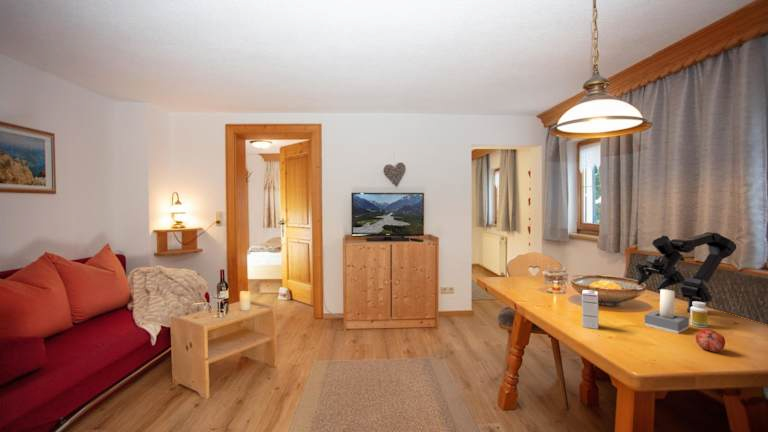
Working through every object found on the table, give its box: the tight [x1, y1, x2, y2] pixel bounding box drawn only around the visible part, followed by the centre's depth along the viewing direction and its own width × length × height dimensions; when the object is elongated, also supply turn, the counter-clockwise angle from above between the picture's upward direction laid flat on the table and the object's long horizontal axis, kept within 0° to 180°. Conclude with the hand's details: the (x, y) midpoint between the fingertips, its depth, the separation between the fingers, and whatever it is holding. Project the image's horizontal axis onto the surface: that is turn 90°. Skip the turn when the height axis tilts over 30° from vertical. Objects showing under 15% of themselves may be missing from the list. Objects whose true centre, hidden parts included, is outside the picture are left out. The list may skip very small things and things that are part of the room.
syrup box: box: [581, 289, 600, 330], centre depth 140 cm, size 6×6×14 cm
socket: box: [644, 309, 690, 334], centre depth 139 cm, size 11×11×4 cm
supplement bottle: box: [689, 301, 709, 329], centre depth 140 cm, size 5×5×10 cm
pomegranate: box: [695, 328, 726, 353], centre depth 117 cm, size 7×7×10 cm
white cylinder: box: [659, 288, 676, 319], centre depth 139 cm, size 5×5×14 cm
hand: (647, 286), depth 151 cm, fingers open, 9 cm apart
